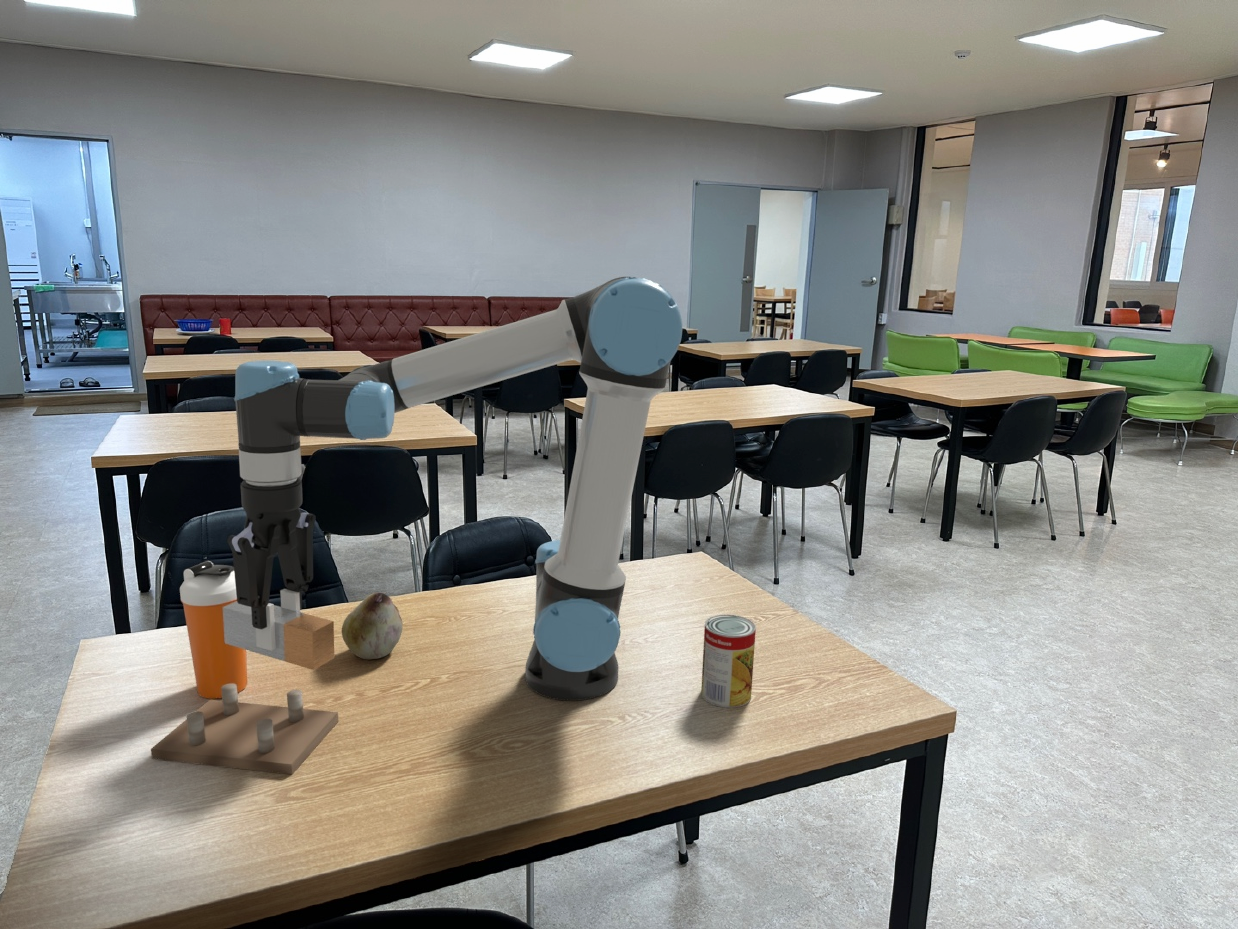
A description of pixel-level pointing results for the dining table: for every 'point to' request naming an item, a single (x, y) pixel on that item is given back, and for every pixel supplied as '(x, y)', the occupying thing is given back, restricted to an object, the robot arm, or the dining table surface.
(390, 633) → the fruit
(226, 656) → the shaker bottle
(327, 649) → the bar
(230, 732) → the peg rack
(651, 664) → the dining table surface
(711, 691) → the canned food
